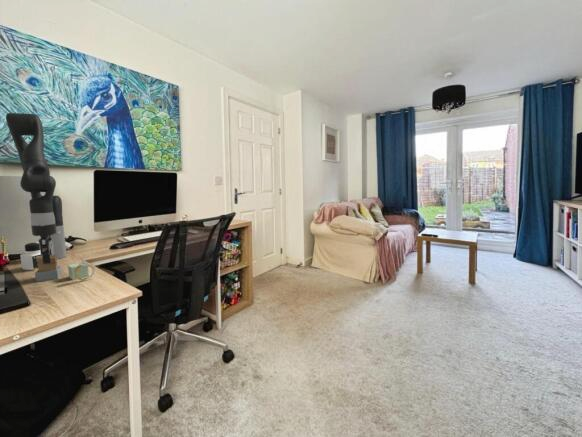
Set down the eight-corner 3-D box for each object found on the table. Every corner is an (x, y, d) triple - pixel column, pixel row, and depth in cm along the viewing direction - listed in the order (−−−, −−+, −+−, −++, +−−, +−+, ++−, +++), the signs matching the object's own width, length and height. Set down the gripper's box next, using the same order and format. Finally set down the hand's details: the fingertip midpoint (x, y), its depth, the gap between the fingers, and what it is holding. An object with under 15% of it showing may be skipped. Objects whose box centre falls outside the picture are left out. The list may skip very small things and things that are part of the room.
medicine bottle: (33, 270, 124) (30, 245, 123) (21, 269, 126) (18, 244, 124) (50, 266, 131) (47, 241, 130) (38, 265, 133) (35, 241, 131)
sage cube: (69, 277, 117) (67, 265, 116) (84, 274, 121) (83, 262, 120) (73, 280, 113) (71, 267, 113) (88, 276, 118) (87, 264, 117)
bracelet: (75, 283, 110) (73, 264, 109) (74, 281, 112) (72, 262, 111) (96, 279, 114) (94, 261, 113) (94, 277, 117) (93, 259, 116)
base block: (40, 277, 117) (39, 268, 117) (61, 274, 121) (60, 265, 120) (36, 282, 111) (34, 273, 111) (58, 279, 115) (57, 270, 114)
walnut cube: (40, 268, 116) (39, 256, 115) (57, 266, 119) (56, 254, 118) (38, 272, 112) (37, 259, 111) (56, 269, 115) (55, 257, 114)
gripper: (33, 221, 116) (37, 258, 118) (28, 226, 105) (33, 266, 107) (56, 220, 121) (60, 255, 123) (54, 224, 109) (58, 263, 112)
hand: (47, 260), depth 115 cm, fingers open, 8 cm apart
